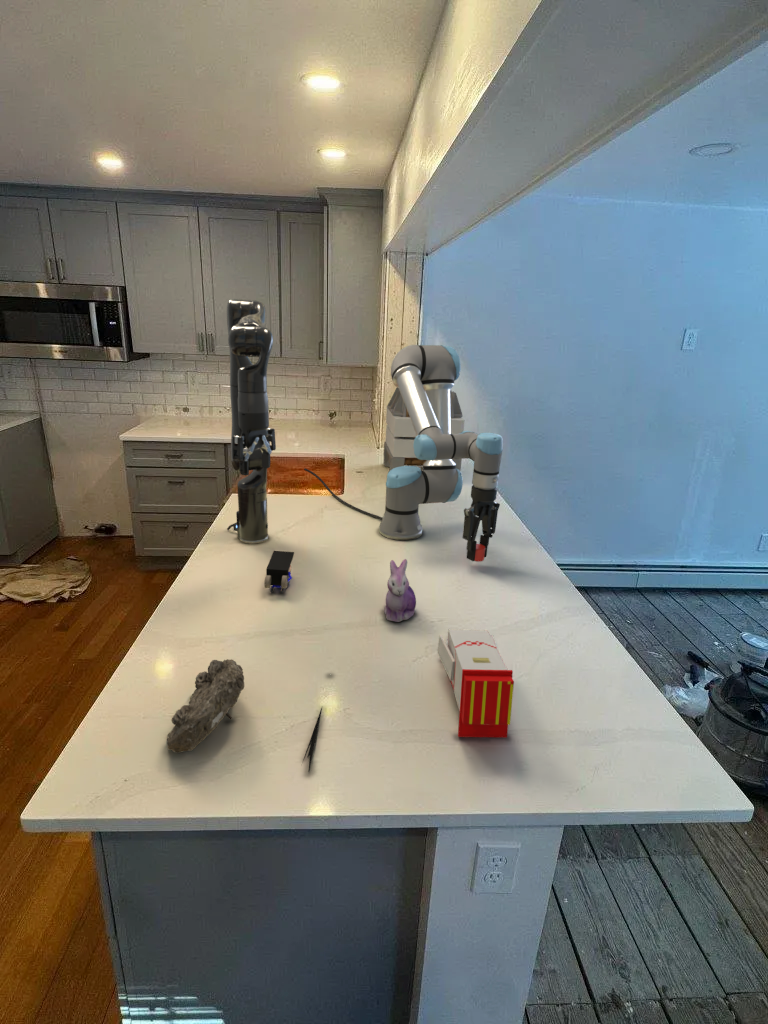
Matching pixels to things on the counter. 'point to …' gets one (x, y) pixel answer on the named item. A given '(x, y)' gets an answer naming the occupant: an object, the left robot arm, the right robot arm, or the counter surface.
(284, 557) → the black rover
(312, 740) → the feather
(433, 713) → the counter surface
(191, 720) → the fossil
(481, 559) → the cylinder
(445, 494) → the right robot arm
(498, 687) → the toy
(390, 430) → the white wooden crate
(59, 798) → the counter surface
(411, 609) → the figurine
